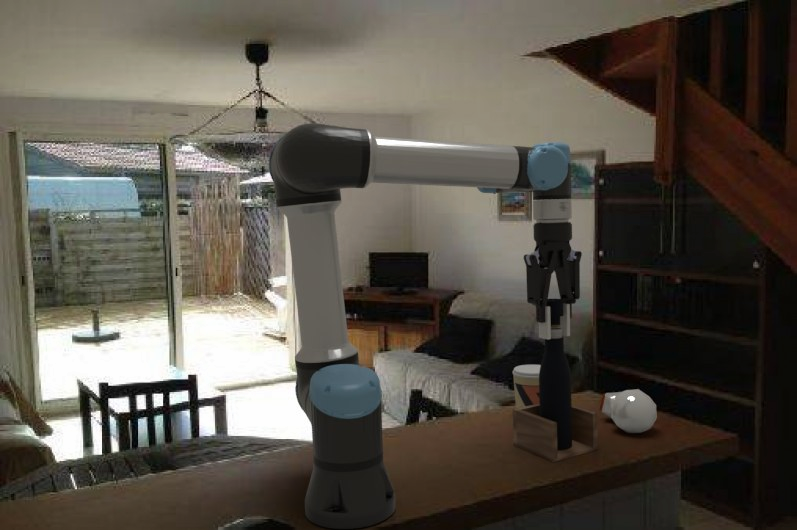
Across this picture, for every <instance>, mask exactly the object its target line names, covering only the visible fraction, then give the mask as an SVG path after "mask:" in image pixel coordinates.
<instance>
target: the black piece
mask: <svg viewBox="0 0 797 530" xmlns="http://www.w3.org/2000/svg"><path fill="white" fill-rule="evenodd" d="M546 306H549V307H550V322H551V339H544V353H543V356H542V359H541V362H540V365H541V366H540V372H539V404H540V417H543V418H545V419H548V420H551V421H554V422H556V423H557V450H565V449H569V448H571V447H572V406H571V405H572V374H571V368H570V364H569V361H568V358H567V356H566V353H565V347H564V345H565V344H564V343H565V341H564V336H563V335H562V328H558V327H559V326H560V325H561V324H560V316H563V300H562V299H560V298H548V301H547V305H546Z"/></svg>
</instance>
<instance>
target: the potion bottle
mask: <svg viewBox="0 0 797 530" xmlns="http://www.w3.org/2000/svg"><path fill="white" fill-rule="evenodd" d="M599 411H600V412H602V414H605V415H606V416H607V417H608V418H611V419H612V421H613V422H614V424H615V425H616V426H617V427H618V428H620V429H621V430H623V432H626V433H627V434H641V433H643V432H646V431H649V430H651V429H652V427H653V426H654V424H655V422H656V420H657V419H658V413H657V404H656V403H655V402H654V401H653V399H652V398H651V397H650V396H649V395H648V394H646V393H645V392H643V391H642V390H640V389H639V388H637V389H626V390H623V391H618V392H606V393H603V394H602V398H601V401H600V406H599Z"/></svg>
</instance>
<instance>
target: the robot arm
mask: <svg viewBox="0 0 797 530" xmlns="http://www.w3.org/2000/svg"><path fill="white" fill-rule="evenodd" d="M571 155H572V153H571V147H570V146H569V144H568V143H566V142H555V141H554V142H540V143H535V144H534V145H533V146H521V145H519V146H518V145H517V146H516V145H508V144H507V145H506V144H505V145H504V144H494V143H493V144H491V143H480V142H479V143H476V142H463V141H462V142H461V141H447V140H445V141H444V140H435V139H434V140H433V139H432V140H431V139H417V138H402V137H389V136H386V137H385V136H376V135H375V136H374V135H373V134H372V133H371V132H370V131H369V130H368V129H365V128H353V127H344V126H338V125H331V124H326V123H325V124H324V123H319V122H318V123H314V122H312V123H311V122H309V123H304V124H300V125H297V126H295V127H293V128H292V129H290V130H289V131H288V132H287V133H286V134H284V135H283V136H282V137H280V138H279V139H278V140H277V141H276V143H275V144H274V146H273V147H272V149H271V152H270V155H269V159H268V172H269V175H270V176H271V177H270V179H271V180H272V181H273V186H274V193H275V202H276V203H275V204H276V210H278V211H279V212H280V213H282V214H283V215H284V216H285V218H286V222H287V229H288V230H287V231H288V239H289V248H290V255H291V263H292V273H293V281H294V291H295V299H296V306H297V314H298V315H297V316H298V317H297V318H298V325H299V332H300V341H301V347H300V349H299V351H298V352H297V353H296V355H295V356H294V362H295V370H296V380H295V387H294V388H295V396H296V400H297V402H298V405H299V406H300V408H301V410H302V411H303V413H304V414H305V415H306V417H307V419H308V420H309V422H310V425H311V435H312V436H311V437H312V455H313V459H312V460H313V469H312V471H311V474H310V475H311V476H310V480H309V483H308V485H307V490H306V494H305V497H304V510H305V511H304V514H305V516H306V518H307V520H308V521H309V522H311V523H313V524H315V525H317V526H319V527H323V528H328V529H336V530H354V529H360V528H361V529H362V528H366V527H370V526H373V525H377V524H380V523H381V522H383V521H385V520H387V519H388V518H389V517H391V516H392V515H393V514H394V512H395V510H396V493H395V490H394V487H393V484H392V482H391V479H390V476H389V474H388V471H387V468H386V465H385V463H384V462H385V461H384V445H383V443H384V441H383V440H384V439H383V418H382V417H383V415H382V414H383V413H382V410H383V409H382V397H383V391H382V388H381V381H380V377H379V375H378V374H377V373H376V371H374V370H373V369H372V368H369V367H367V366H360V358H359V349H358V348H357V347H356V346H355V345H354V344H352V343H351V342H350V341H349V335H348V325H347V316H346V306H345V297H344V289H343V280H342V271H341V269H342V268H341V262H340V253H339V245H338V244H339V243H338V236H337V235H338V234H337V225H336V217H335V216H336V215H335V212H336V210H337V209H338V207H339V206H340V205H341V204H342V195H341V193H342V191H341V189H366V188H367V187H368V186H369V185H370V184H374V183H375V184H391V185H392V184H395V185H398V184H399V185H400V184H401V185H413V186H414V185H418V186H440V187H461V188H463V187H465V188H477V190H478V191H479V192H481V193H482V194H493V195H497V194H510V193H511V194H512V193H516V194H517V193H532V215H533V216H532V217H533V218H532V219H533V220H534V221H535V223H534V224H533V240H534V241H535V247H534V251H533V252H532V253H529V254H524V255H523V260H524V264H525V268H526V295H527V296H526V299H527V300H526V301H527V303H528V304H531V305H532V306H534V307H535V320H536V323H538V338H539V339H543V340H545V339H551V322H550V307H549V306H546V305H547V301H548V299H549V293H550V287H551V286H550V285H551V280H552V275H553V273H555V277H556V283H557V289H558V293H559V294H558V295H559V299H562V300H563V316H560V324H561V325H560V326H559V327H558V328H562V337H564V336H565V337H571V319H572V316H573V315H572V314H573V313H572V310H573V308H572V307H573V306H572V305H574V304H576V302H577V300H579V299H580V298H581V295H580V294H581V288H580V287H581V279H580V278H581V277H580V274H581V273H580V270H581V269H580V267H581V265H580V263H581V259H582V256H583V255H582V254H583V253H582V251H580V250H579V251H578V250H574V249H572V246H571V243H570V241H571V240H572V239H573V223H571V222H572V221H570V220H571V219H572V217H573V216H572V214H573V213H572V211H573V210H572V207H573V205H572V167H573V165H572V156H571ZM569 221H570V222H569Z"/></svg>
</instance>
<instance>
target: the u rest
mask: <svg viewBox="0 0 797 530" xmlns="http://www.w3.org/2000/svg"><path fill="white" fill-rule="evenodd" d="M571 406H572V447H571V448H569V449H565V450H557V423H556V422H554V421H551V420H548V419H545V418H543V417H540V404H534V405H530V406H525V407H521V408H516V407H515V408H513V409H512V439H513V440H512V443H513V446H515V447H518V448H520V449H522V450H524V451H527V452H529V453H532V454H534V455H535V456H538V457H541V458H542V459H545V460H546V461H549V462H552V463H554V462H559V461H562V460H565V459H570V458H574V457H576V456H579V455H584V454H586V453H591V452H593V451H594V452H595V451H597V450H598V451H599V442H598V441H599V440H598V439H599V438H598V435H599V433H598V432H599V431H598V429H599V427H598V425H599V424H598V412H595V411H593V410H589V409H587V408H583V407H580V406H577V405H573V404H571Z"/></svg>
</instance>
